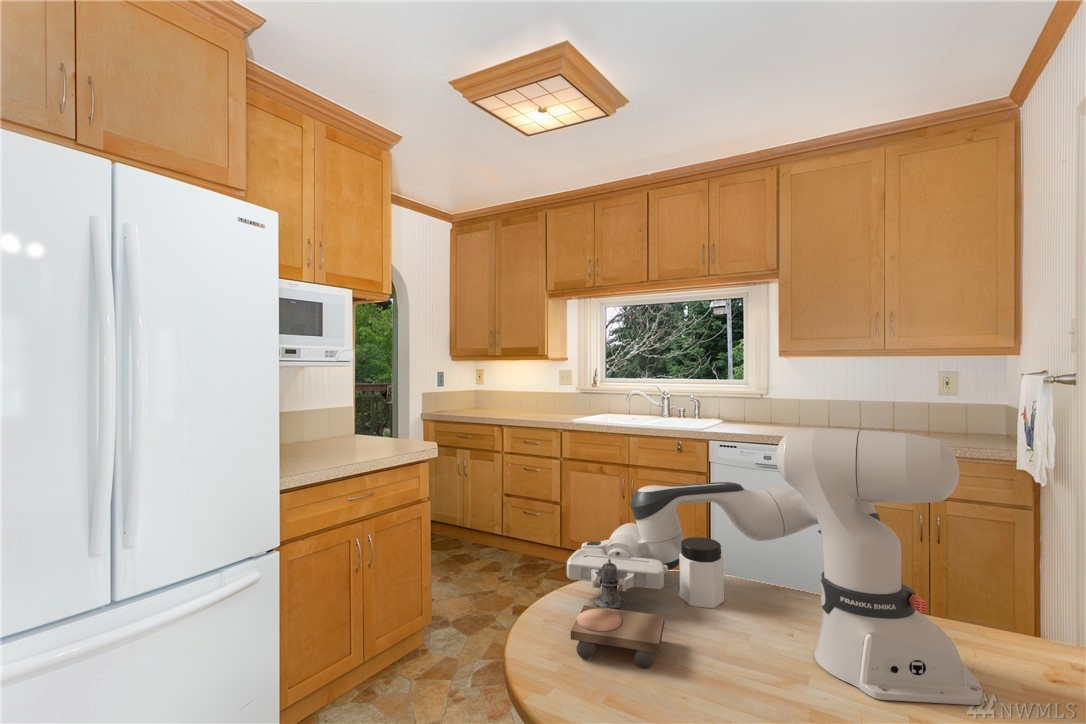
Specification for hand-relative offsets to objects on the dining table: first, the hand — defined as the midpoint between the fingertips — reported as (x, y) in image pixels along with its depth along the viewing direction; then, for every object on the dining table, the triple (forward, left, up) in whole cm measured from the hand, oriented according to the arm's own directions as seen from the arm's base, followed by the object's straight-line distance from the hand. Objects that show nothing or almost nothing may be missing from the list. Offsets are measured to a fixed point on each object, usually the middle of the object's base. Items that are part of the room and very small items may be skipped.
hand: (608, 585), depth 104 cm
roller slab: (-3, +9, -7) cm, 12 cm away
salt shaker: (0, -1, -7) cm, 7 cm away
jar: (-17, -15, -7) cm, 24 cm away
